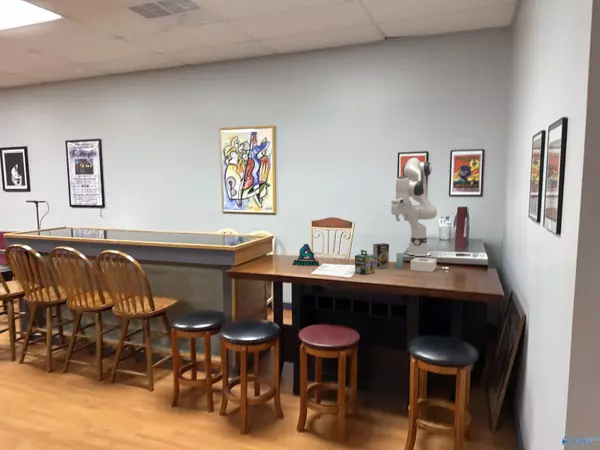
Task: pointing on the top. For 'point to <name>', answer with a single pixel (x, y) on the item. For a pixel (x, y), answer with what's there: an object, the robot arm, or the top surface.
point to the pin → (399, 261)
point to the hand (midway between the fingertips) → (402, 220)
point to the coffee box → (381, 255)
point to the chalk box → (364, 263)
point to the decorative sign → (306, 261)
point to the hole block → (423, 264)
